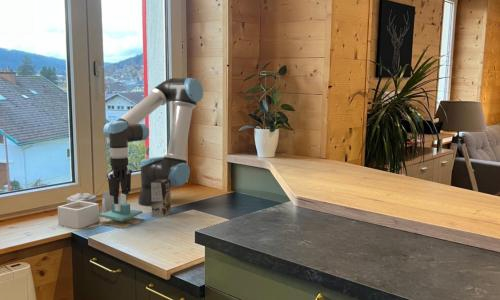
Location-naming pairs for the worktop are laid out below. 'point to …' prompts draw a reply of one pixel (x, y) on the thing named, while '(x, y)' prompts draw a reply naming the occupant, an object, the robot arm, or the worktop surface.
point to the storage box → (78, 214)
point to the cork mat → (121, 222)
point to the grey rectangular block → (107, 201)
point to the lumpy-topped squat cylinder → (82, 198)
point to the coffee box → (161, 197)
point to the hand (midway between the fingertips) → (120, 209)
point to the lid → (120, 213)
